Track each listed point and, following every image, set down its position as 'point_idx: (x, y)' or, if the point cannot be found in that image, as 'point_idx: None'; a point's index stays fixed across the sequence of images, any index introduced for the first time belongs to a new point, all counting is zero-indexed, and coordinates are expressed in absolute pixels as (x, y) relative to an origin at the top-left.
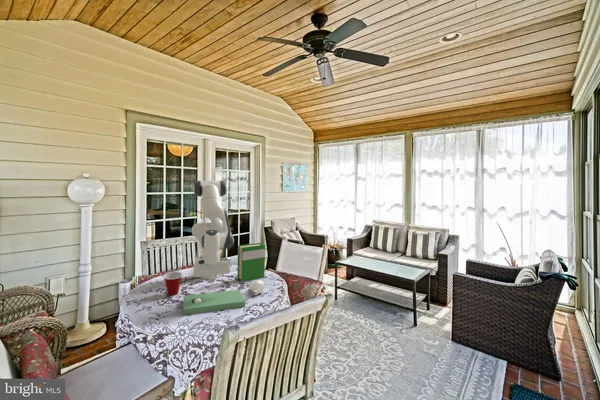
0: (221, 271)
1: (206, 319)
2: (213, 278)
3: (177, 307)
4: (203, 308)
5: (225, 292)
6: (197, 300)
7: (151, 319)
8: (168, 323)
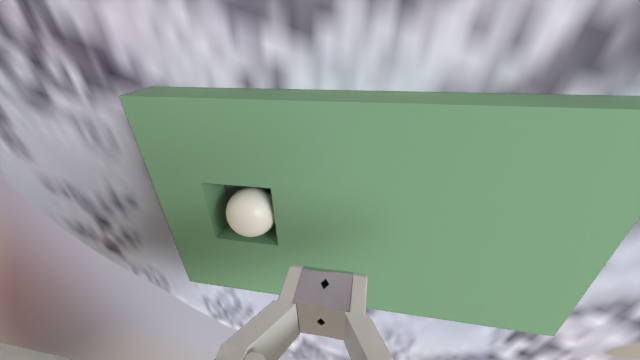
0: None
1: None
2: (345, 330)
3: None
4: None
5: (496, 142)
6: (242, 235)
7: (92, 243)
8: (171, 292)
